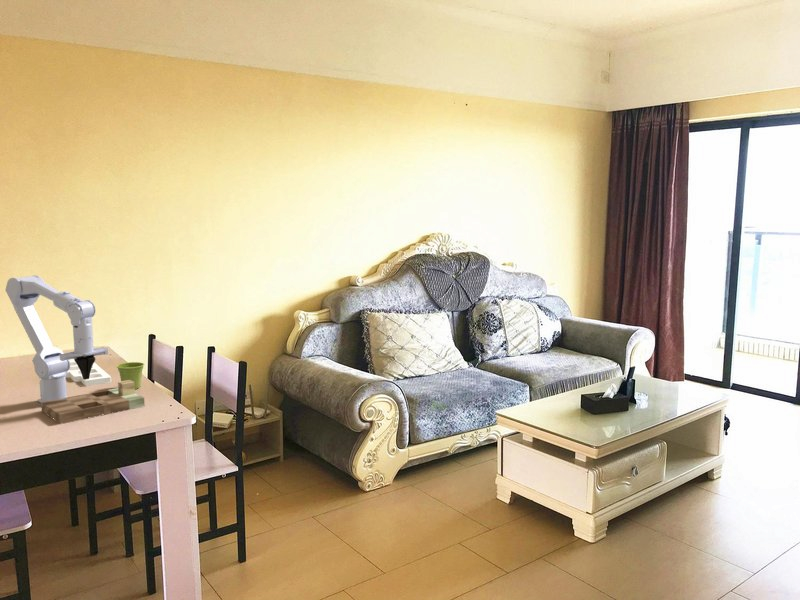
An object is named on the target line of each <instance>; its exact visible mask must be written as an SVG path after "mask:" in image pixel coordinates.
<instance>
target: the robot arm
mask: <svg viewBox="0 0 800 600" xmlns="http://www.w3.org/2000/svg"><path fill="white" fill-rule="evenodd" d="M5 285H6V287H5V292H6V295H7V296H8V299H9V300H10V302H11V304H12V306H13V309H14V311H15V313H16V315H17V317H18V318H19V321H20V323H21V325H22V327H23V329H24V330H25V333H26V335H27V337H28V339H29V341H30V343H31V345H32V347H33V348H34V351H35V352H36V353H35V354H34V357H33V358H32V360H31V361H32V364H33V366H34V372H35V374H36V375H37V377H38V379H40V380H39V392H40V397H39V399H37V402H38V403H40V404H41V402H45V401H51V400H56V399H62V398H67V397H68V395H67V394H68V393H67V382H66V381H67V380H66V379H67V378H66V377H65V375H67V371H68V370H69V369H70V360H69V359H74V360H75V362H76V363H77V365H78V367H79V369H80V371H81V374H82V377H83V379H84V380H86V379H89V376H90V372H91V368H92V366H93V363H94V362H95V361H96V357H97V356H102V355H109V348H107V347H103V348H102V347H101V348H94V333H93V332H94V331H93V317H94V316H95V315H96V306H95V304H94V303H93V302H92V301H91V300H89V299H87V300H82V299H81V298H80V297H77V296H75V295H72V294H71V292H70V291H68V290H63V291H62V290H61V291H58V290H57V289H55V288H54V287H53V286H51V285H50V284H48V283H47V282H45V280H44V278H42V277H41V276H38V275H31V276H21V277H11V278H8V280H7V282H6V284H5ZM40 296H42V297H43V298H46V299H48V300H50V301H52V303H53V306H54V307H55V308H57V309H58V310H61V311H63V312H65V313H67V316H68V317H69V320H70V324H71V326H72V333H73V334H72V335H73V348H74V350H73V351H69V352H66V353H64V352H63V349H61V348H58V347H56V346H54V345H53V342H52V340H51V339H50V337H49V335H48V332H47V331H46V330H45V326H44V324H43V323H42V321H41V319H40V317H39V315H38V313H37V311H36V309H35V307H34V304H35V303H36V302H37V301H38V299H39V298H40ZM95 363H96V362H95Z"/></svg>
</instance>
